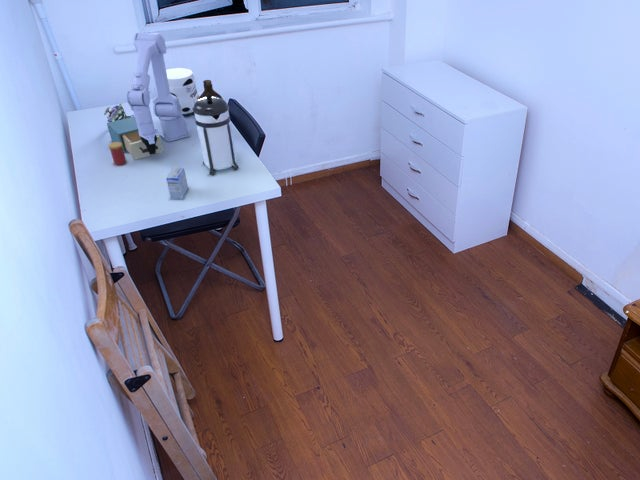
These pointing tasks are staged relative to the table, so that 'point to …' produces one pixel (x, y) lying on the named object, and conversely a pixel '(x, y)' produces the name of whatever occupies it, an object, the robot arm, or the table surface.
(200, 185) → the table surface
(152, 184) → the table surface
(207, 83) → the olive oil
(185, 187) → the medicine box
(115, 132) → the cabinet
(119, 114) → the passion flower
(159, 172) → the table surface
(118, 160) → the tea tin
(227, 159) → the coffee press
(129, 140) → the drawer
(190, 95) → the milk container
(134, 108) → the robot arm
